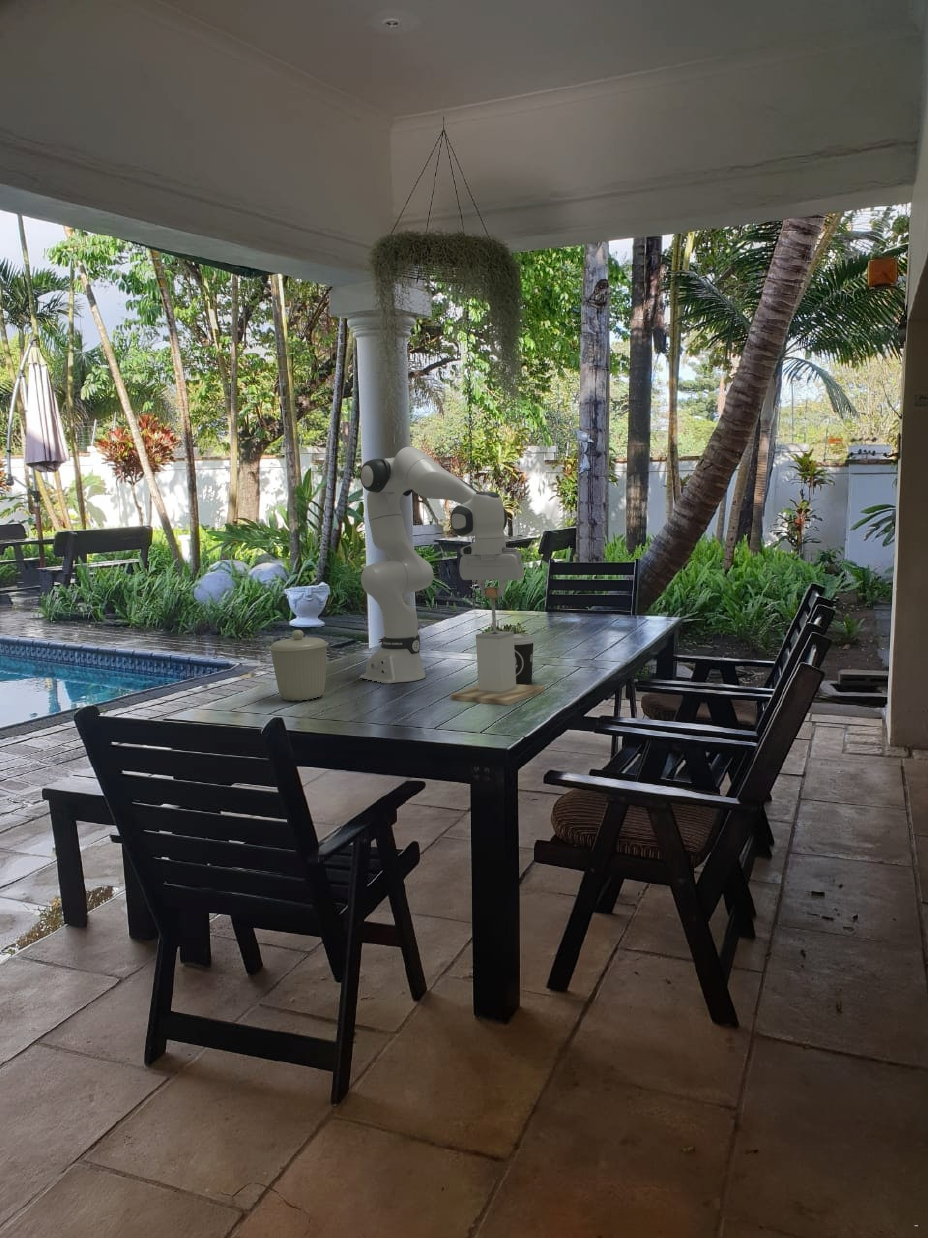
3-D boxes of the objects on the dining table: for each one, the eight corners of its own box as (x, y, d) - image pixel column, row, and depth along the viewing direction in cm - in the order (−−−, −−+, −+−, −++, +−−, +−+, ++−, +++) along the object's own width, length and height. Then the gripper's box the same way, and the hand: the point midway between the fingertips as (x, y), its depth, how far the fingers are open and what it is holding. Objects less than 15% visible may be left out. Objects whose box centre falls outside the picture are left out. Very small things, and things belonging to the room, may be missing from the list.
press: (478, 692, 287) (475, 634, 285) (498, 685, 296) (495, 629, 293) (501, 694, 282) (498, 636, 280) (520, 687, 291) (518, 630, 289)
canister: (326, 689, 311) (321, 623, 308) (337, 700, 294) (332, 630, 291) (268, 696, 305) (263, 629, 303) (276, 707, 288) (271, 636, 285)
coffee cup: (534, 686, 299) (532, 637, 297) (503, 686, 301) (501, 638, 299) (538, 680, 308) (536, 632, 306) (508, 680, 310) (506, 633, 308)
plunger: (482, 658, 286) (478, 588, 283) (493, 654, 291) (489, 586, 288) (498, 659, 283) (495, 588, 280) (509, 655, 287) (506, 586, 285)
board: (450, 699, 286) (450, 694, 286) (488, 686, 302) (488, 681, 302) (508, 705, 274) (507, 700, 274) (544, 691, 290) (544, 686, 290)
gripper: (527, 546, 279) (529, 594, 281) (468, 547, 291) (470, 593, 293) (515, 548, 274) (517, 597, 276) (455, 549, 286) (458, 596, 287)
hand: (492, 595), depth 284 cm, fingers closed on plunger, 4 cm apart
